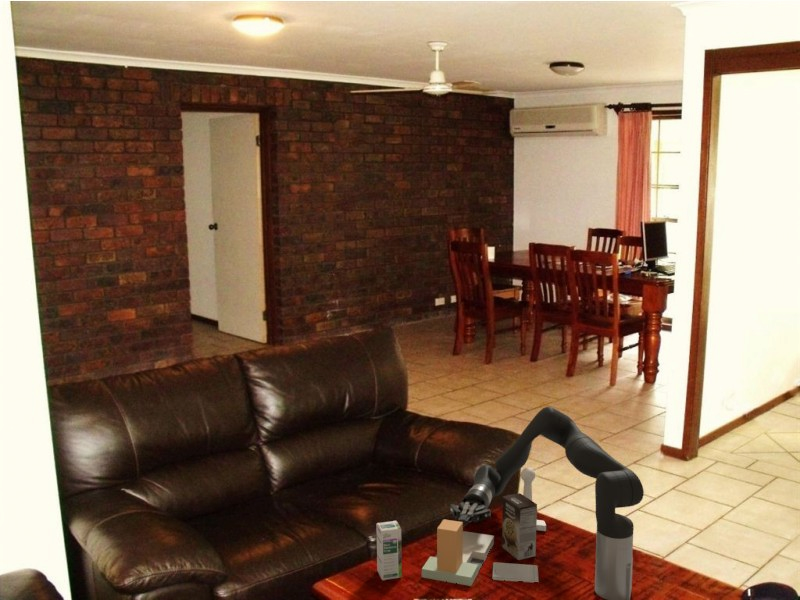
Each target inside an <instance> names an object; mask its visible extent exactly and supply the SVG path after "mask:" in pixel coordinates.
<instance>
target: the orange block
mask: <svg viewBox="0 0 800 600" xmlns="http://www.w3.org/2000/svg"><path fill="white" fill-rule="evenodd" d="M463 531H464V527H463V522H459V520H458V521H457V520H449V519H442V520H441V523H440V524H439V525H438V526H437V530H436V545H437V546H436V551H437V552H436V554H437V570H442V571H448V572H454V573H457V571H458V570H459V568H460V566H461V564H462V563H463Z"/></svg>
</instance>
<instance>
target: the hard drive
mask: <svg viewBox="0 0 800 600" xmlns="http://www.w3.org/2000/svg"><path fill="white" fill-rule="evenodd" d="M538 568H539V566H538V565H535V564H534V565H533V564H524V563H522V564H521V563H509V562H507V563H506V562H497V561H496V562H495V561H494V562H493V563H492V577H491V579H493V580H492V581H504V580H505V581H506V582H518V581H523V582H522V583H534V582H538V583H539V569H538Z"/></svg>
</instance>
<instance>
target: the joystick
mask: <svg viewBox="0 0 800 600" xmlns="http://www.w3.org/2000/svg"><path fill="white" fill-rule="evenodd" d="M535 478H536V472H535V470H534V469H533V468H531V467H524V468H523V469H522V470H521V471H520V479H522V481H523V491H522V492H523V493H522V495H524V496H525V497H527V498H528V499H530V500H531V501H533V491H532V490H533V485H532V483H533V481H534V480H535ZM536 531H539V532H540V531H541V532H547V524H546V522H545V520H541V519H537V524H536Z"/></svg>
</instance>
